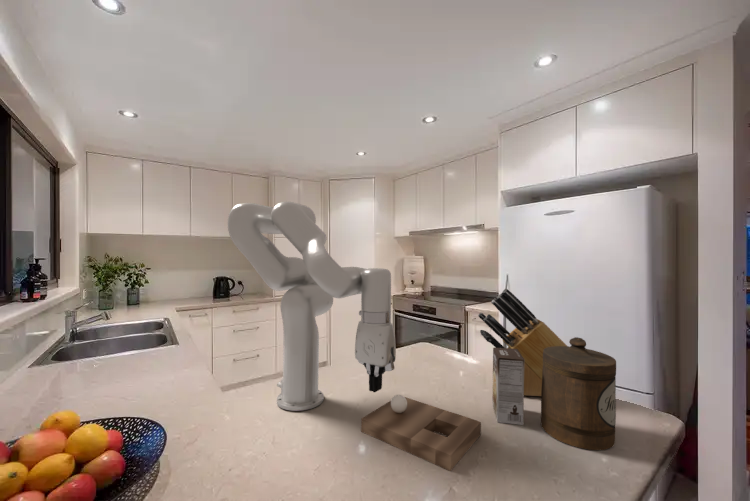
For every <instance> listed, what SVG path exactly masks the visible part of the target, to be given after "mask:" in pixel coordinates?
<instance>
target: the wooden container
mask: <svg viewBox="0 0 750 501" xmlns="http://www.w3.org/2000/svg"><path fill="white" fill-rule="evenodd" d="M569 345H570V346H568V345H567V346H551V347H547V348H545V349H544V350H543V371H542V390H541V396H540V426H541V429H542V430H544V432H545V433H546V434H547V435H548V436H550V437H552V438H554V440H557V441H559V442H561V443H563V444H565V445H568V446H571V447H575V448H579V449H582V450H589V451H605V450H608V449H611V448H613V447H614V446H615V443H616V425H617V424H616V418H617V413H616V412H617V408H616V407H617V404H616V402H617V400H616V399H617V397H616V396H617V393H616V390H617V389H616V387H617V386H616V382H617V381H616V379H617V378H616V375H617V360H616V359H615V358H614V357H613V356H610V355H609V354H606V353H605V352H601V351H597V350H594V349H588V348H586V347H587V342H586V340H585V339H583V338H582V337H578V336H576V337H575V336H574V337H573V338H572V337H571V338H570V339H569Z"/></svg>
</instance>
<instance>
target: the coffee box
mask: <svg viewBox="0 0 750 501" xmlns="http://www.w3.org/2000/svg"><path fill="white" fill-rule="evenodd" d="M524 362H525V360H524V358H523V357H522V355H521V354H520V352H519V351H518V349H509V348H508V347H507V348H506V347H505V348H496V347H492V409H493V411H494V412H493V413H494V416H495V419H496V422H497V423H500V424H501V423H502V424H512V425H519V426H520V425H521V426H524V407H525V406H524V404H525V403H524V402H525V401H524V398H525V395H524Z"/></svg>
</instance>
